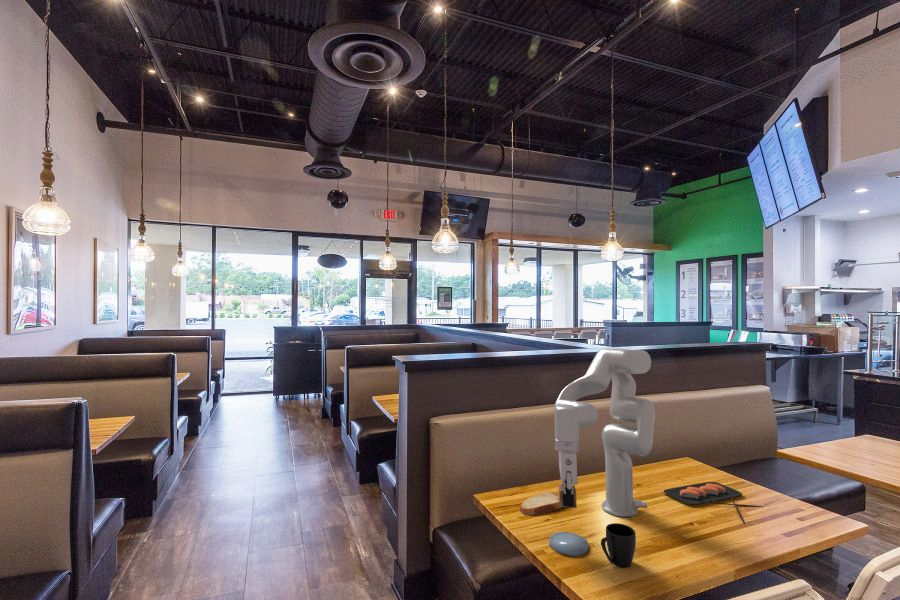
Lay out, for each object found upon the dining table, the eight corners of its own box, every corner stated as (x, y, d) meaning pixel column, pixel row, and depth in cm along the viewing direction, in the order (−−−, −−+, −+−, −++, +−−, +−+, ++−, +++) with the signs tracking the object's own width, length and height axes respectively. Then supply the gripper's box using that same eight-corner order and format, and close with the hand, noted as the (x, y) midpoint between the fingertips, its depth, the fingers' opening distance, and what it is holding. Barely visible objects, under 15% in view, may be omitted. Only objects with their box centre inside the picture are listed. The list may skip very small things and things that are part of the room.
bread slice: (518, 515, 157) (518, 505, 157) (523, 495, 174) (523, 486, 174) (569, 521, 152) (568, 511, 152) (569, 500, 169) (569, 490, 170)
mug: (591, 562, 126) (590, 530, 126) (619, 551, 132) (618, 520, 132) (613, 577, 119) (613, 543, 119) (642, 565, 125) (641, 532, 125)
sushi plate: (713, 485, 184) (713, 476, 184) (787, 516, 155) (787, 505, 156) (660, 494, 175) (660, 485, 175) (728, 529, 146) (728, 518, 146)
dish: (585, 537, 140) (585, 533, 141) (590, 558, 129) (590, 553, 129) (548, 534, 143) (548, 530, 143) (550, 554, 131) (550, 549, 131)
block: (574, 501, 138) (574, 485, 138) (576, 508, 133) (576, 491, 133) (558, 500, 139) (558, 484, 139) (559, 506, 134) (559, 490, 134)
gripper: (582, 453, 128) (583, 515, 127) (576, 437, 144) (576, 492, 144) (556, 452, 129) (557, 513, 128) (553, 436, 146) (554, 490, 145)
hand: (567, 501), depth 136 cm, fingers closed on block, 4 cm apart
